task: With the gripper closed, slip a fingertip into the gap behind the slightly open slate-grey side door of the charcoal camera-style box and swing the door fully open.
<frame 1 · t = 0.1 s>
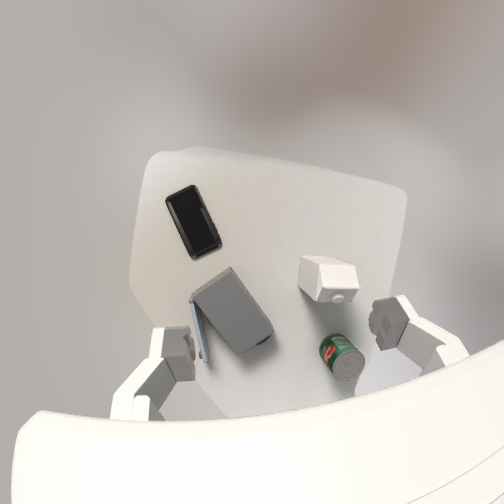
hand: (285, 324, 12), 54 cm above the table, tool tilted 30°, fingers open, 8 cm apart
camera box: (233, 306, 67), on the table
canned tomato: (333, 347, 71), on the table
phone: (193, 221, 65), on the table
milk carton: (313, 271, 68), on the table
side door: (197, 327, 64), point 4 cm above the table, hinge at 25.0°
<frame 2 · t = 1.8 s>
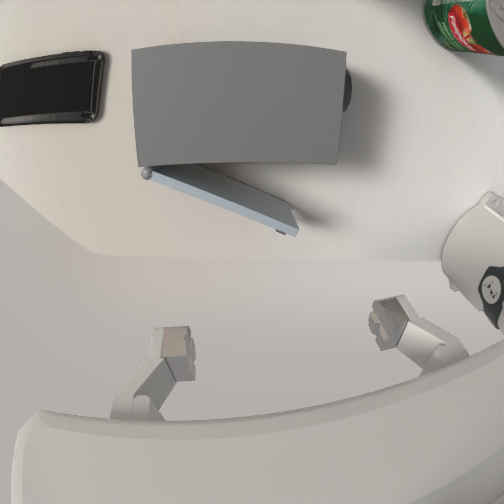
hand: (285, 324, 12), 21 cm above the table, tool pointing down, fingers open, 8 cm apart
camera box: (236, 96, 25), on the table
canned tomato: (445, 21, 20), on the table
phone: (46, 88, 22), on the table
side door: (220, 193, 27), point 4 cm above the table, hinge at 25.0°
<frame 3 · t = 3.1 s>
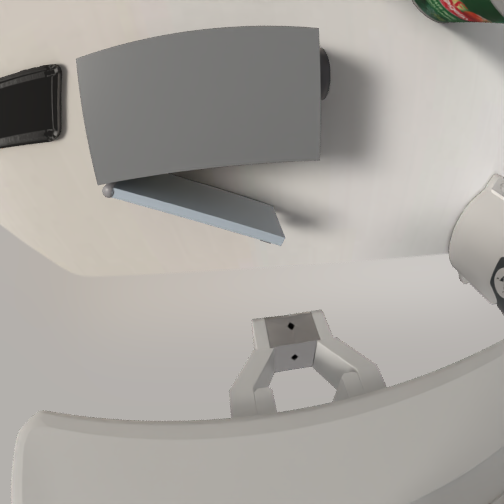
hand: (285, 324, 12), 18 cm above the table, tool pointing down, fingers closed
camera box: (203, 94, 22), on the table
phone: (9, 109, 20), on the table
side door: (195, 204, 24), point 4 cm above the table, hinge at 25.0°
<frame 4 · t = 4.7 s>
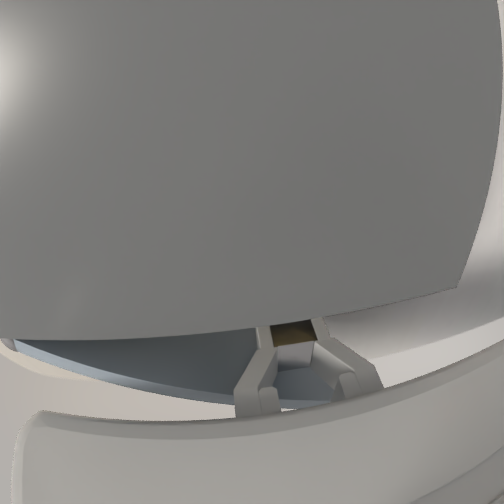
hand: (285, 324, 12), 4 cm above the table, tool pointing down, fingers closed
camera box: (185, 103, 10), on the table
side door: (181, 339, 12), point 3 cm above the table, hinge at 26.5°, touching gripper
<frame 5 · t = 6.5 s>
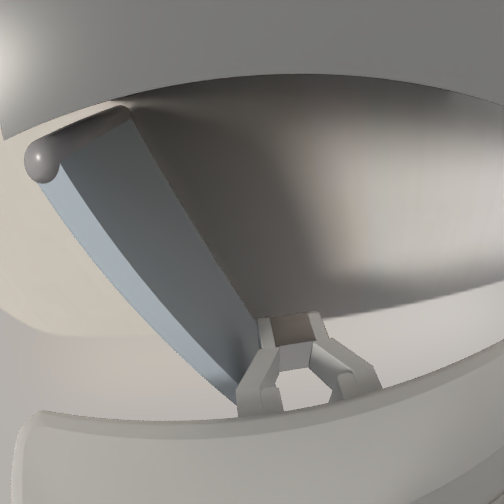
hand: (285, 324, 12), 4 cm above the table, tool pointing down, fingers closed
side door: (187, 296, 11), point 4 cm above the table, hinge at 71.2°, touching gripper
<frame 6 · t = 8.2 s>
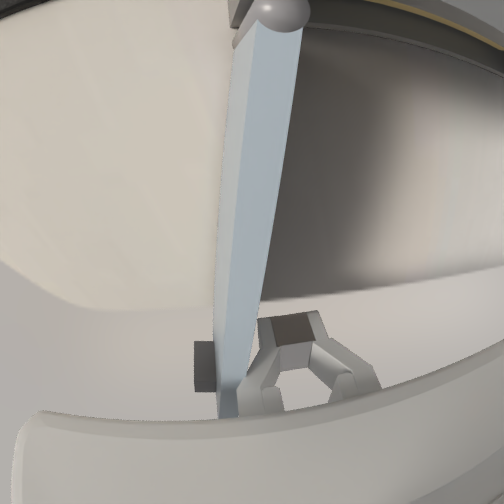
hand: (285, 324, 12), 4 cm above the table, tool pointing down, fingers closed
side door: (219, 249, 10), point 4 cm above the table, hinge at 100.0°, touching gripper
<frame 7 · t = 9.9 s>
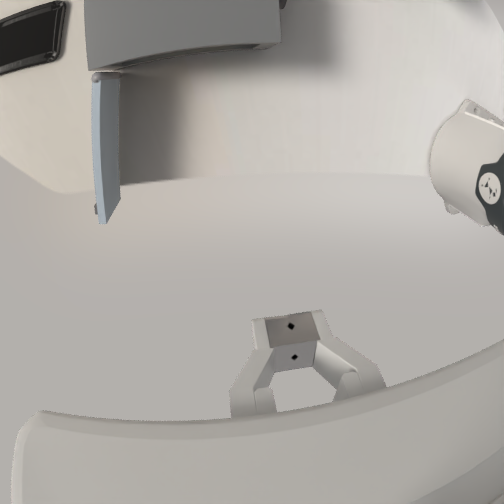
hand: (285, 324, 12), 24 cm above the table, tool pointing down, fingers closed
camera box: (184, 14, 22), on the table
phone: (15, 42, 18), on the table
side door: (102, 144, 25), point 4 cm above the table, hinge at 100.3°
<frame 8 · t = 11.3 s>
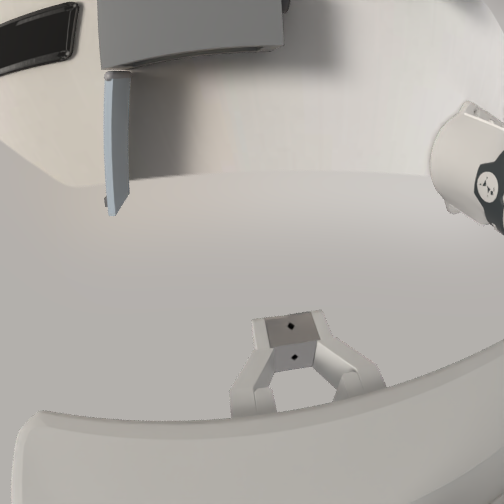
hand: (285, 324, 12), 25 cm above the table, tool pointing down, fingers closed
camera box: (192, 17, 23), on the table
phone: (28, 41, 20), on the table
side door: (113, 139, 26), point 4 cm above the table, hinge at 100.3°
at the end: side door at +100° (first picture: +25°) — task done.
